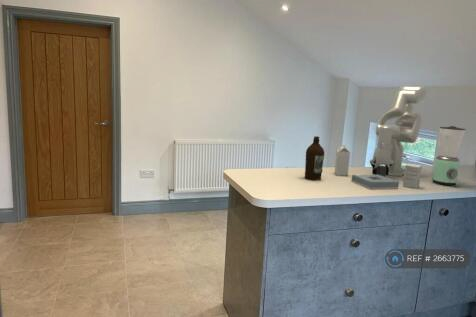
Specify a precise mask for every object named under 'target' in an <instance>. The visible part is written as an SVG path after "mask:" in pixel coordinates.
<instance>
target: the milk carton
mask: <svg viewBox="0 0 476 317" xmlns="http://www.w3.org/2000/svg"><path fill="white" fill-rule="evenodd" d="M350 156H351V152H350V151H349V150H348V148H346V145H345V144H342V146H339V147H337V150H336V155H335V164H334V172H333V173H334V174H335V176H343V177H344V176H345V177H348V175H349V167H350V158H351V157H350Z"/></svg>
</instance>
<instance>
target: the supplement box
mask: <svg viewBox="0 0 476 317" xmlns="http://www.w3.org/2000/svg"><path fill="white" fill-rule="evenodd" d="M422 167H423V165H421V164H413V163H407V164H406V165H405V167H404V169H405V172H404V174H403V180H402V181H403V183H402V187H405V188H408V189H409V188H410V189H414V190H415V189H418V188H420V183H421V177H422V176H421V175H422Z"/></svg>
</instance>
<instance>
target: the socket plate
mask: <svg viewBox="0 0 476 317" xmlns="http://www.w3.org/2000/svg"><path fill="white" fill-rule="evenodd" d="M351 182H352V183H354V184H356V185H359V186H362V187H364V188H366V189H368V190H398V189H399V187H400V186H399V185H400V182H399V181H398V180H395V179H393V178H389V177H386V176H385V177H384V176H381V175H374V174H359V173H358V174H357V173H355V174H352V175H351Z"/></svg>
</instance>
